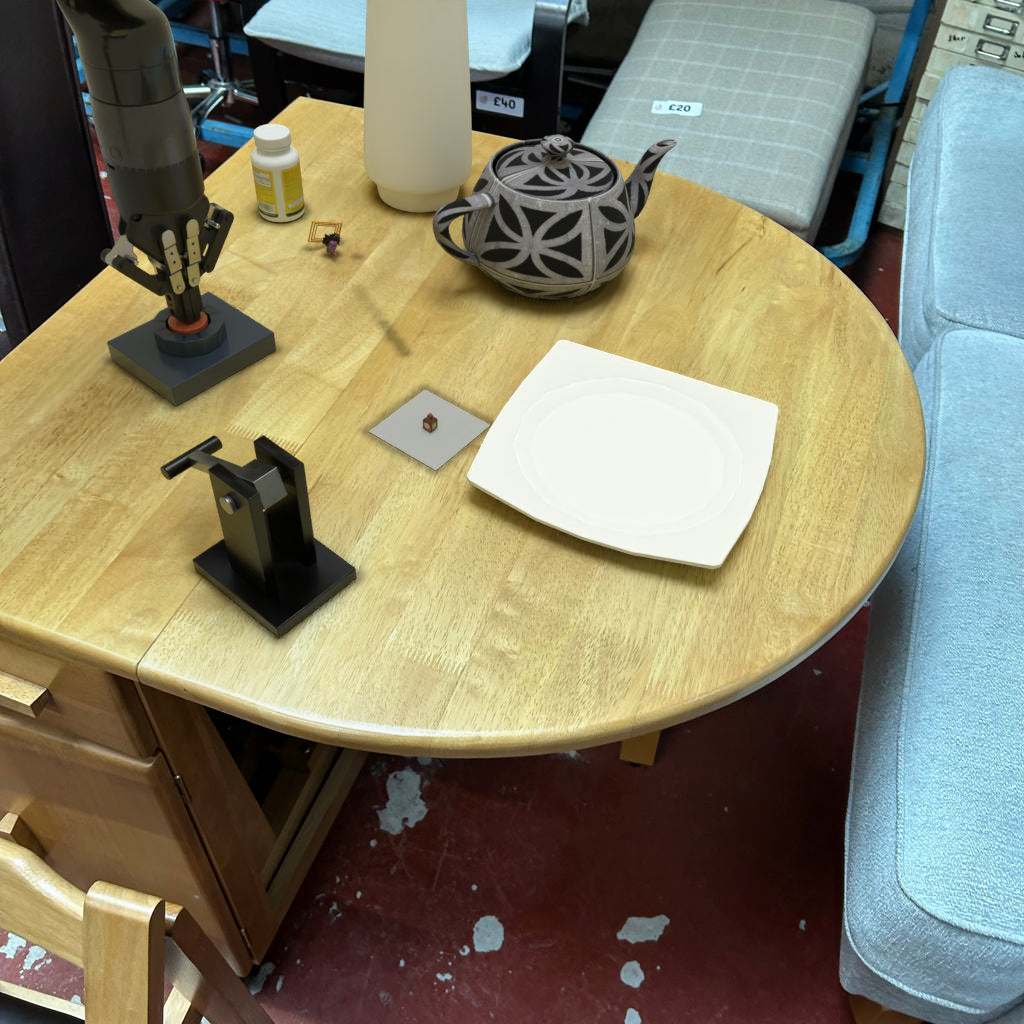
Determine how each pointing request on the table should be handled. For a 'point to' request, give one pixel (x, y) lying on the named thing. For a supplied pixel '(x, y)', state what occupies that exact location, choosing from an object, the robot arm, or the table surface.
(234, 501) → the lever bracket
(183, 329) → the button
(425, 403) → the grey square pad
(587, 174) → the teapot
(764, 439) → the plate
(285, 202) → the supplement bottle
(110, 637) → the table surface
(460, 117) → the vase
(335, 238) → the figurine with orange frame
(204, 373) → the button box
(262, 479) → the press lever
